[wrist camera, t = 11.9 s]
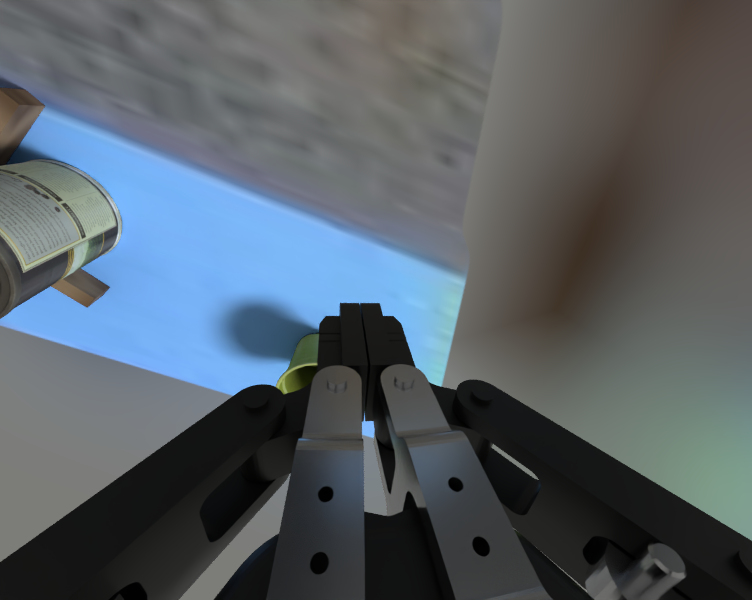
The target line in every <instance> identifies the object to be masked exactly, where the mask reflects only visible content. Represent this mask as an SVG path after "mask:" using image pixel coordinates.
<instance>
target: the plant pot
mask: <svg viewBox="0 0 752 600" xmlns="http://www.w3.org/2000/svg"><path fill="white" fill-rule="evenodd" d="M318 343H319V333H318V334H309V335H307V336H305V337H303V338H302V339H301V340H300V341H299V343H298V345H297V347H296V350H295V352H294V355H293V357H292V360H291V362H290V365H289V367H288V369H287V370H286V372H284V373H283V374H282V376H281V377H280V378H279V380H278V382H277V384H276V388H278V389H280V390H281V391H282V393H283V394H286V393H290V392H294V391H297V390H299V389H302V388H304V387H305V386H307V385H308V384H309V383H311V381H312V380H313V378H314V376H315V375H316V372H317V358H318Z"/></svg>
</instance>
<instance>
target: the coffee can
mask: <svg viewBox="0 0 752 600" xmlns="http://www.w3.org/2000/svg"><path fill="white" fill-rule="evenodd" d="M121 233H122V220H121V216H120V213H119V210H118V208H117V206H116V204H115V202H114V201H113V199H112V198H111V196H110V195H109V194H108V192H107V191H106V190H105V189H104V188H103V187H102V186H101V185H100V184H99V183H98V182H97V181H96V180H94V179H93V178H92V177H90V176H89V175H88V174H86V173H84V172H83V171H81V170H79V169H77V168H75V167H73V166H70V165H68V164H65V163H61V162H58V161H54V160H44V159H39V160H30V161H26V162H23V163H17V164H10V165H3V166H0V319H1V318H2V317H4V316H5V315H7V314H8V313H9V312H10V311H11V310H13V309H14V308H15V307H17V306H19V305H20V304H22V303H24V302H25V301H27V300H29V299H30V298H32V297H33V296H35V295H37V294H38V293H40V292H41V291H43V290H45V289H47V288H48V287H50V286H52V285H53V284H55V283H56V282H58V281H60V280H61V279H63V278H65V277H66V276H68V275H70V274H72V273H73V272H75V271H76V270H78V269H80V268H81V267H83V266H85V265H86V264H88V263H90V262H91V261H93V260H95V259H96V258H98V257H100V256H102V255H104V254H106V253H108V252H110V251H111V250H112V249H113V248H114V247H115V246H116V245H117V243H118V241H119V239H120V237H121Z"/></svg>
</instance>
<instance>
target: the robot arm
mask: <svg viewBox="0 0 752 600" xmlns="http://www.w3.org/2000/svg"><path fill="white" fill-rule="evenodd" d="M364 412H365V421H374V428H375V433H374V447H375V452H376V457H377V461H378V466H379V471H380V475H381V480H382V485H383V490H384V494H385V499H386V506H387V516H383V515H378V514H373V513H368V512H364V447H363V439H362V421H364ZM493 444H494V445H496V446H497V447H499V448H500V449H501V450H503V451H504V452H506V453H507V454H508V455H510V456H511V457H512V458H514V459H515V460H517V461H518V462H519V463H521V464H522V465H524V466H525V467H526V468H528V469H529V470H530V471H532V472H533V473H534V474H535V475H536V476H537V477H538V479H539V480H537V479H534V478H532V477H531V476H530V475H528V474H527V473H525V472H524V471H523V470H521V469H520V468H519V467H517V466H516V465H514V464H513V463H512V462H510V461H509V460H508V459H506V458H505V457H503V456H502V455H501V454H499V453H498V452H497V451H495V450H494V449H492V448H491V447H492V445H493ZM290 473H291V476H290V481H289V486H288V491H287V496H286V501H285V506H284V512H283V517H282V522H281V527H280V532H279V534H277V535H275V536H274V537H272V538H271V539H269V540H268V541H266V542H265V543H264V544H263V545H261V546H260V547H259V548H258V549H257V550H255V551H254V552H253V553H252V554H251V555H250V556H249V557H248V558H247V559H246V560H245V561H244V562H243V564H242V565H241V566H240V567H239V568H238V570H237V571H236V572H235V573H234V575H233V576H232V577H231V578H230V580H229V581H228V582H227V584H226V585H225V586H224V588H223V589H222V590H221V591H220V592H219V594H218V595H217V596H216V598H215V599H214V600H752V541H751V540H749V539H748V538H746V537H744V536H743V535H741V534H740V533H738V532H736V531H734V530H733V529H731V528H729V527H728V526H726V525H725V524H723V523H721V522H720V521H718V520H716V519H715V518H713V517H711V516H710V515H708V514H706V513H705V512H703V511H701V510H699V509H698V508H696V507H694V506H693V505H691V504H690V503H688V502H686V501H685V500H683V499H681V498H680V497H678V496H676V495H675V494H673V493H671V492H669V491H668V490H666V489H665V488H663V487H661V486H660V485H658V484H656V483H655V482H653V481H651V480H649V479H648V478H646V477H645V476H643V475H641V474H640V473H638V472H636V471H635V470H633V469H631V468H629V467H628V466H626V465H625V464H623V463H621V462H620V461H618V460H616V459H615V458H613V457H611V456H609V455H608V454H606V453H605V452H603V451H601V450H600V449H598V448H596V447H595V446H593V445H591V444H589V443H588V442H586V441H585V440H583V439H581V438H580V437H578V436H576V435H575V434H573V433H571V432H570V431H568V430H566V429H565V428H563V427H561V426H560V425H558V424H556V423H554V422H553V421H551V420H550V419H548V418H546V417H545V416H543V415H541V414H540V413H538V412H536V411H535V410H533V409H531V408H530V407H528V406H526V405H524V404H523V403H521V402H520V401H518V400H516V399H515V398H513V397H511V396H510V395H508V394H506V393H505V392H503V391H501V390H499V389H498V388H496V387H495V386H493V385H491V384H489V383H487V382H484V381H481V380H466V381H464V382H462V383H460V384H459V385H458V387H457V390H453V389H449V388H444V387H440V386H436V385H434V384H431V383H430V382H428V380H427V378H426V376H425V375H424V374H423V372H421V371H420V370H419V369H417V368H416V367H415V364H414V361H413V358H412V355H411V352H410V349H409V346H408V343H407V342H406V337H405V334H404V331H403V328H402V325H401V323H400V322H399V321H398V320H397V319H396V318H395V317H394V316H383V314H382V310H381V306H380V303H360V305H359V303H340V315H339V316H325V318H324V319H323V320H322V321H321V323H320V325H319V343H318V358H317V372H316V375H315V376H314V378H313V380H312V381H311V383H309V384H308V385H307V386H305V387H304V388H302V389H299V390H297V391H294V392H290V393H286V394H283V393H282V391H281V390H280V389H278V388H276V387H274V386H271V385H263V384H261V385H254V386H250V387H248V388H245V389H243V390H241V391H240V392H238V393H237V394H236V395H234V396H233V397H231V398H230V399H229V400H227V401H226V402H224V403H223V404H221V405H220V406H219V407H217V408H216V409H215V410H213V411H212V412H210V413H209V414H207V415H206V416H205V417H204V418H202V419H201V420H199V421H198V422H196V423H195V424H193V425H192V426H191V427H189V428H188V429H186V430H185V431H184V432H182V433H181V434H179V435H178V436H177V437H175V438H174V439H172V440H171V441H170V442H168V443H167V444H165V445H164V446H163V447H161V448H160V449H158V450H157V451H156V452H154V453H153V454H151V455H150V456H149V457H147V458H146V459H144V460H143V461H142V462H140V463H139V464H137V465H136V466H135V467H133V468H132V469H130V470H129V471H128V472H126V473H125V474H123V475H122V476H121V477H119V478H118V479H116V480H115V481H114V482H112V483H111V484H109V485H108V486H106V487H105V488H104V489H102V490H101V491H99V492H98V493H97V494H95V495H94V496H92V497H91V498H90V499H88V500H87V501H86V502H84V503H83V504H81V505H80V506H78V507H77V508H76V509H74V510H73V511H71V512H70V513H69V514H67V515H66V516H64V517H63V518H62V519H60V520H59V521H57V522H56V523H55V524H53V525H52V526H50V527H49V528H48V529H46V530H45V531H43V532H42V533H40V534H39V535H38V536H36V537H35V538H34V539H32V540H31V541H29V542H28V543H26V544H25V545H24V546H22V547H21V548H19V549H18V550H17V551H15V552H14V553H12V554H11V555H10V556H8V557H7V558H6V559H4V560H3V561H1V562H0V600H179V599H180V598H181V596H182V595H183V594H184V593H185V592H186V591H187V590H188V589H189V588H190V586H191V585H192V584H193V583H194V582H195V581H196V580H197V579H198V577H199V576H200V575H201V574H202V573H203V572H204V571H205V570H206V569H207V568H208V566H209V565H210V564H211V563H212V562H213V561H214V560H215V559H216V558H217V557H218V555H219V554H220V553H221V552H222V551H223V550H224V549H225V548H226V547H227V545H228V544H229V543H230V542H231V541H232V540H233V539H234V538H235V536H236V535H237V534H238V533H239V532H240V531H241V530H242V529H243V527H245V525H246V524H247V523H248V522H249V521H250V520H251V519H252V518H253V517H254V516H255V514H256V513H257V512H258V511H259V510H260V509H261V508H262V507H263V505H264V504H265V503H266V502H267V501H268V500H269V499H270V498H271V497H272V496H273V494H274V493H275V492H276V491H277V490H278V489H279V488H280V487H281V486H282V484H283V483H284V482H285V481H286V479H287V478H288V476H289V474H290ZM513 528H514V529H516V530H517V531H518V532H517V531H516V530H514V529H513ZM536 547H537V548H538V549H537V548H536ZM542 552H543V553H544V554H545V555H546V556H547V557H546V556H545V555H544V554H543V553H542ZM549 558H550V559H551V560H552V561H553V562H554V563H555V564H557V565H558V566H559V567H560V568H561V569H563V570H564V571H565V572H566V573H567V574H568V575H570V576H571V577H572V578H573V579H574V580H576V581H577V582H578V583H579V584H580V585H581V586H582V587H584V588H585V589H586V590H587V592H585V591H584V590H583V589H582V588H581V587H580V586H579V585H577V583H575V582H574V581H573V580H572V579H571V578H570V577H569V576H568V575H566V574H565V573H564V572H563V571H562V570H561V569H560V568H559V567H557V566H556V565H555V564H554V563H553V562H552V561H551V560H550V559H549Z"/></svg>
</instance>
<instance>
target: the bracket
mask: <svg viewBox="0 0 752 600" xmlns="http://www.w3.org/2000/svg"><path fill="white" fill-rule="evenodd" d="M44 107H45V105H43V104H42V103H41V102H40V101H38V100H37V99H36V98H35V97H34V96H32V95H31V94H30V93H29V92H27V91H26V90H22V89H11V88H0V166H3V165H6V163H7V162H8V160H9V159H10V157H11V156H12V154H13V153H14V151H15V150H16V148H17V147H18V145H19V144H20V142H21V141H22V140H23V138H24V137H25V135H26V134H27V132H28V131H29V129H30V128H31V126H32V125H33V123H34V122H35V120H36V119H37V117H38V116H39V114H40V113H41V111H42V110H43V108H44ZM51 287H53V288H55V289H57V290H58V291H60V292H62V293H63V294H65V295H67V296H68V297H70V298H72V299H73V300H75V301H77V302H79V303H80V304H82V305H84V306H85V307H89V306H90V305H91V304H92V303H94V302H95V301H96V300H98V299H99V298H100V297H101V296H103V295H104V293H105V292H106V291H107V290H108V289H109V288H110V287H109V286H107V285H106V284H104V283H102V282H101V281H99V280H98V279H96V278H95V277H93V276H92V275H90V274H88V273H87V272H85V271H84V270H82V269H81V268H80V269H78V270H76V271H75V272H73V273H72V274H70V275H68V276H66V277H65V278H63V279H61V280H60V281H58V282H56V283H55V284H53V285H52V286H51Z"/></svg>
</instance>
